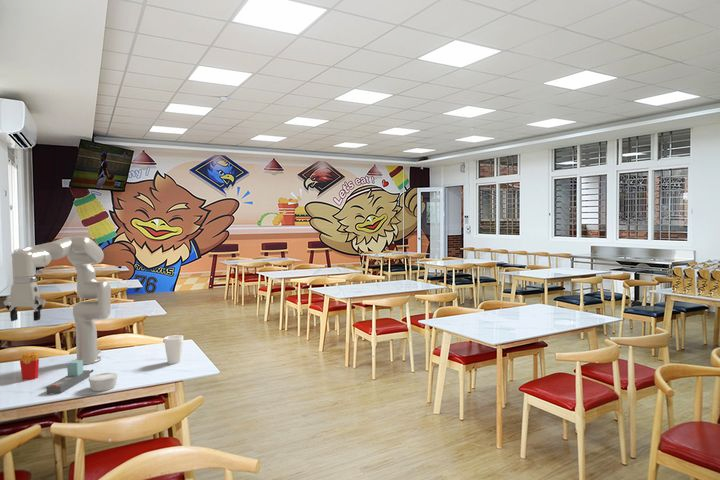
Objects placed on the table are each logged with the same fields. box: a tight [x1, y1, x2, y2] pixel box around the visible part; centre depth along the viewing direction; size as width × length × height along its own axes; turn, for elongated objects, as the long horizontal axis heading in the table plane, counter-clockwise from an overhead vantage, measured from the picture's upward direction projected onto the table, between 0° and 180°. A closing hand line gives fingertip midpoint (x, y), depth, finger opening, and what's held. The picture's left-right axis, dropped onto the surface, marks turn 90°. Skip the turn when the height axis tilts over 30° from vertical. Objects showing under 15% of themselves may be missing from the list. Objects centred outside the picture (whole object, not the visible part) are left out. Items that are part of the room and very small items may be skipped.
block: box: [66, 359, 84, 376], centre depth 218 cm, size 4×4×8 cm
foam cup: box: [163, 334, 184, 365], centre depth 245 cm, size 10×9×13 cm
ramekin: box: [88, 372, 118, 392], centre depth 208 cm, size 11×11×5 cm
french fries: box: [19, 351, 40, 381], centre depth 222 cm, size 8×4×12 cm, turn 86°
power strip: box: [45, 369, 95, 395], centre depth 217 cm, size 30×6×4 cm, turn 1°
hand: (25, 320), depth 202 cm, fingers open, 9 cm apart
